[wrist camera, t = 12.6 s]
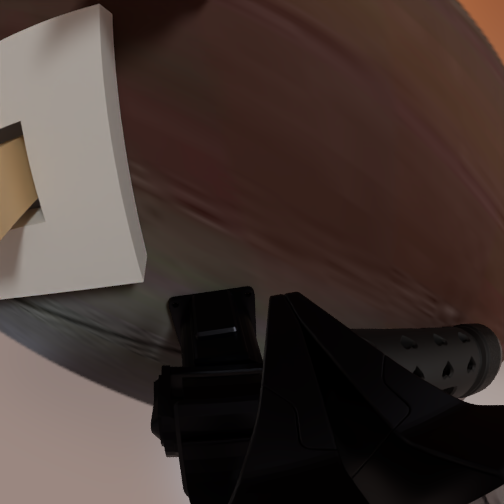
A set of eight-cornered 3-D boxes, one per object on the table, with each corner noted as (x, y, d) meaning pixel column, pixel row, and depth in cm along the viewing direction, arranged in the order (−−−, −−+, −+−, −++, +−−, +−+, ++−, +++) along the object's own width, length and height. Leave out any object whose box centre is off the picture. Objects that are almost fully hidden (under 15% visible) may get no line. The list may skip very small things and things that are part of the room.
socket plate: (147, 255, 21) (143, 281, 18) (-21, 280, 18) (-35, 303, 16) (112, 14, 12) (99, 3, 10) (-74, 98, 10) (-99, 107, 7)
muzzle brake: (311, 294, 26) (363, 394, 17) (476, 305, 35) (519, 355, 26) (275, 365, 30) (304, 455, 22) (441, 353, 39) (475, 403, 31)
